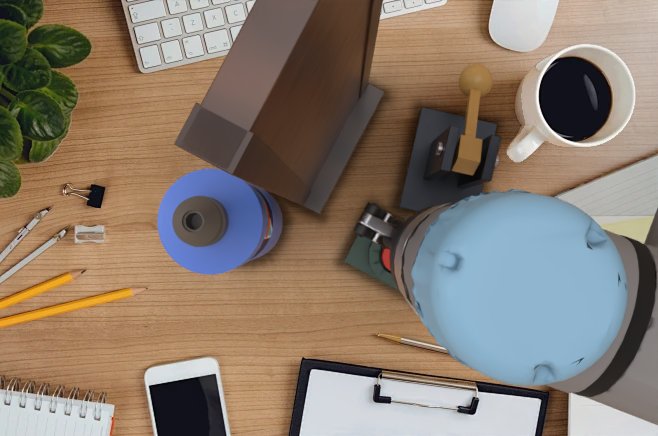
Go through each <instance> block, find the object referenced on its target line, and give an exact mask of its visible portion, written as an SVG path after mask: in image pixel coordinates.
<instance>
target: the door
mask: <svg viewBox="0 0 658 436" xmlns="http://www.w3.org/2000/svg"><path fill="white" fill-rule="evenodd" d="M383 2H384V0H255V1H254V3H253V5H252V6H251V8H250V10H249V12H248V14H247V15H246V18H245V19H244V22H243V23H242V25H241V27H240V30H239V31H238V33H237V35H236V37H235V38H234V41H233V43H232V44H231V46H230V48H229V50H228V52H227V54H226V56H225V58H224V60H223V61H222V63H221V65H220V67H219V69H218V71H217V73H216V74H215V76H214V78H213V80H212V82H211V84H210V86H209V88H208V90H207V92H206V93H205V96H204V97H203V99H202V100H201V103H199V102H196V103H194V105H193V107H192V109H191V111H190V113H189V114H188V117H187V118H186V120H185V122H184V124H183V126H182V128H181V130H180V132H179V134H178V136H177V137H176V139H175V141H174V144H173V145H174V146H176V147H178V148H179V149H181V150H183V151H186V152H188V153H189V154H191V155H193V156H195V157H197V158H199V159H200V160H203V161H204V162H206V163H207V164H210V165H211V166H213V167H216V169H219V170H223V171H225V172H227V173H229V174H230V175H232V176H235V177H237V178H240V179H242V180H244V181H247V182H248V183H251V184H253V185H256V186H258V187H260V188H262V189H264V190H266V191H267V192H270V193H273V194H275V195H277V196H280V197H282V198H284V199H287V200H289V201H291V202H294V203H296V204H297V205H301V206H303V207H305V208H306V209H308V210H311V212H314V213H316V214H318V215H321V214H322V213H323V210H324V208H325V207H326V205H327V203H328V201H329V199H330V197H331V196H332V193H333V192H334V189H335V188H336V186H337V184H338V183H339V181H340V179H341V177H342V174H343V173H344V171H345V170H346V167H347V166H348V163H349V162H350V160H351V157H352V156H353V154H354V152H355V150H356V148H357V147H358V144H359V143H360V141H361V139H362V137H363V135H364V134H365V131H366V129H367V128H368V126H369V124H370V122H371V120H372V119H373V116H374V115H375V114H376V113H375V112H376V111H377V109H378V107H379V105H380V103H381V101H382V99H383V97H384V96H385V91H384V90H382V89H381V88H380V87H379V88H378V87H377V86H375V85H373V84H371V83H369V82H370V77H371V72H372V71H371V70H372V65H373V60H374V54H375V49H376V43H377V37H378V31H379V24H380V20H381V14H382V9H383Z"/></svg>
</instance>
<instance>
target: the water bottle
mask: <svg viewBox="0 0 658 436" xmlns="http://www.w3.org/2000/svg"><path fill="white" fill-rule="evenodd" d="M156 220H157V221H156V226H157V232H158V237H159V240H160V242H161V245H162V247H163V249H164V250H165V252H166V254H167V255H169V257H170V258H171V259H172V261H174V263H176V264H178V265H179V266H180V267H182V268H183V269H186V270H188V271H189V272H192V273H195V274H196V273H197V274H200V275H209V276H210V275H211V276H213V275H220V274H224V273H228V272H230V271H232V270H236V269H238V268H240V267H242V266H243V265H244V264H246V263H248V262H250V261H251V262H252V261H253V260H256V259H259V258H262V256H264V255H266V254H268V253H269V252H271V250H273V248H275V246H276V244H278V242H279V239H280V237H281V234H282V231H283V223H284V218H283V213H282V210H281V207H280V205H279V203H278V201H277V200H276V198H275V197H274V196H273V195H272V194H271V192H270V193H269V191H268V190H265V189H263V188H261V187H258V186H256V185H254V184H251V183H249V182H247V181H244V180H242V179H240V178H237V177H235V176H232V175H230V174H229V173H227V172H225V171H223V170H221V169H219V168H202V169H196V170H194V171H191V172H188V173H186V174H184V175H183V176H181V177H179V178H177V180H176V181H175V182H173V183H172V184H171V185H170V186H169V187H168V189H167V190H166V192H165V193H164V195H163V197H162V199H161V202H160V203H159V207H158V211H157V219H156Z"/></svg>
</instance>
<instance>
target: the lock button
mask: <svg viewBox="0 0 658 436" xmlns="http://www.w3.org/2000/svg"><path fill="white" fill-rule="evenodd" d="M389 257H390V250H389V249H383V251H382V261H383V263H384V265H385V266H386V267H387V268H388V269H389V270H390V261H389ZM390 271H391V270H390Z"/></svg>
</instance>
